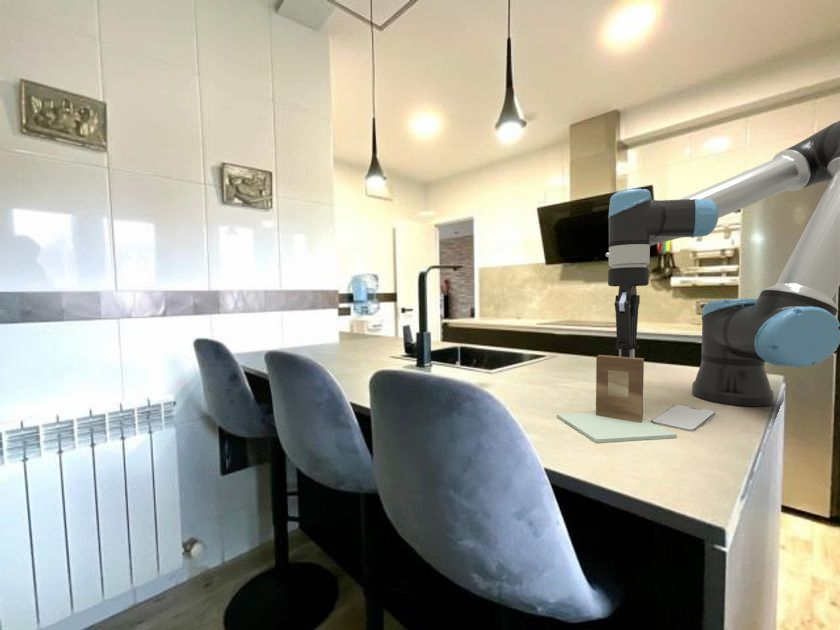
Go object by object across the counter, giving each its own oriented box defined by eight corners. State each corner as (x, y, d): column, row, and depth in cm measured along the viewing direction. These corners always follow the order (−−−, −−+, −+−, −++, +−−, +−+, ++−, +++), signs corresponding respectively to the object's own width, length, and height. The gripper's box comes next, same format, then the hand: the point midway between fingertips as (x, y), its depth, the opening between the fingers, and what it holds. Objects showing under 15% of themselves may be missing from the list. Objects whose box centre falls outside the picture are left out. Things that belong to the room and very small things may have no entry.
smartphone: (649, 420, 76) (676, 404, 85) (649, 426, 76) (676, 409, 85) (693, 430, 70) (717, 411, 80) (693, 436, 70) (716, 417, 80)
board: (598, 412, 80) (599, 354, 80) (642, 419, 76) (643, 358, 75) (595, 415, 79) (596, 356, 78) (640, 422, 74) (642, 360, 73)
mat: (624, 413, 82) (624, 410, 82) (676, 437, 68) (676, 434, 68) (556, 417, 80) (556, 414, 80) (595, 442, 66) (595, 439, 66)
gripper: (615, 269, 88) (613, 372, 90) (601, 266, 78) (599, 383, 79) (653, 267, 84) (651, 376, 85) (643, 264, 74) (641, 388, 75)
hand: (626, 379), depth 82 cm, fingers closed
